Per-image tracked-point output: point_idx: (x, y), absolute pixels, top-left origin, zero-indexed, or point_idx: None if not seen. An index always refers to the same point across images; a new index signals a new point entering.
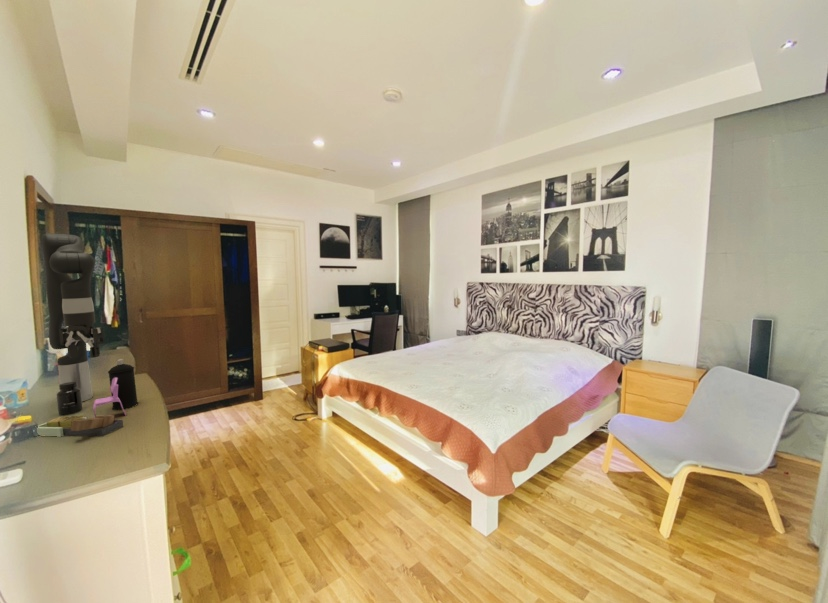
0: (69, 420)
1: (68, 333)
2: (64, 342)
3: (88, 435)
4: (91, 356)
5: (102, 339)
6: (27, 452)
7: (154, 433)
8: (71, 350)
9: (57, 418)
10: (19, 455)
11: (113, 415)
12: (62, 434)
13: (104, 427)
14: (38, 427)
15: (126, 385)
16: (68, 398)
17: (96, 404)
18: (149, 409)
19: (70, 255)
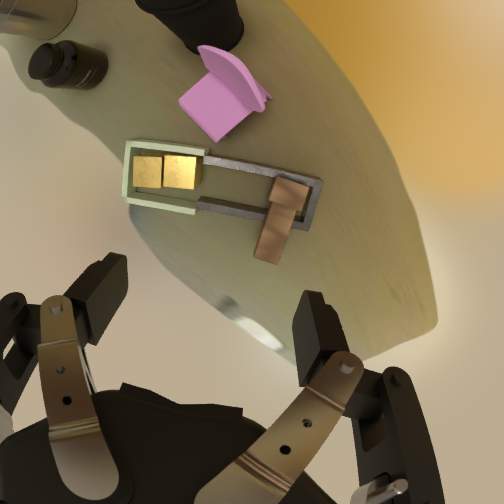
0: (186, 184)
1: (5, 411)
2: (36, 355)
3: None
4: (295, 330)
5: (407, 410)
6: (198, 267)
7: (408, 234)
8: (105, 316)
9: (138, 166)
10: (194, 276)
11: (308, 189)
12: None
13: (307, 221)
14: (133, 201)
15: (225, 17)
16: (75, 78)
17: (218, 139)
18: (313, 67)
19: None
